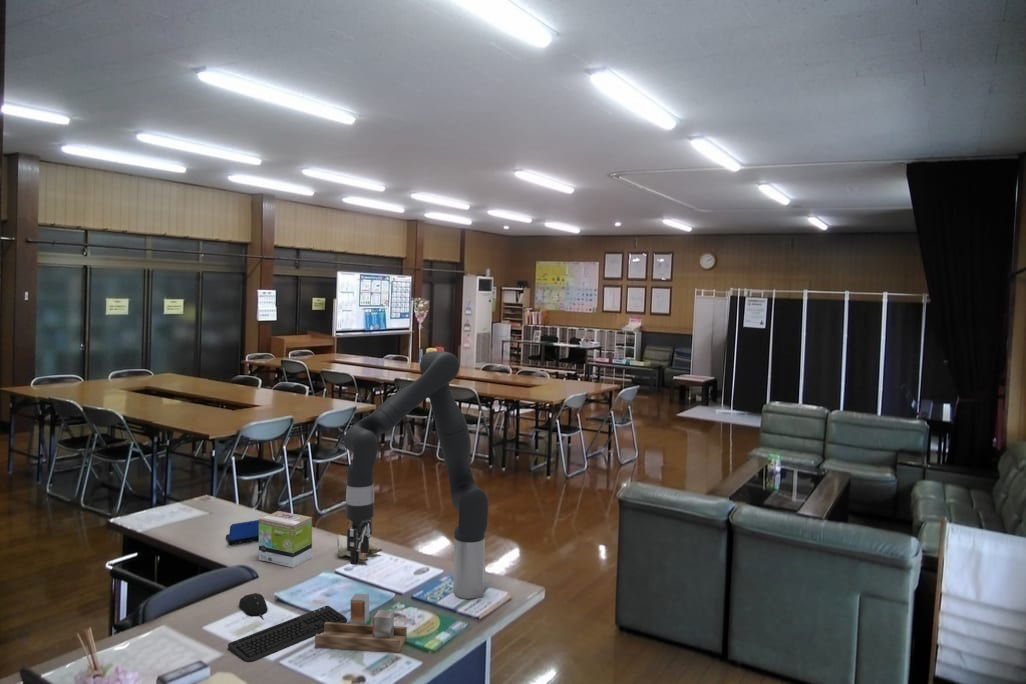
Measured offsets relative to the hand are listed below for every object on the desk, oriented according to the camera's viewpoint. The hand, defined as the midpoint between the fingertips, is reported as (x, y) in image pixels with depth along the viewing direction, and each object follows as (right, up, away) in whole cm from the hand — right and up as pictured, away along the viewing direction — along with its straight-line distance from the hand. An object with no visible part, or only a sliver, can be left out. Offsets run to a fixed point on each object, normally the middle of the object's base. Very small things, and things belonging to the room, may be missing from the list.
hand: (359, 558), depth 185 cm
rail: (+3, -19, -10) cm, 21 cm away
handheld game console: (-55, -14, +63) cm, 84 cm away
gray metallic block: (0, -18, +1) cm, 18 cm away
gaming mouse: (-32, -18, +7) cm, 37 cm away
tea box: (-35, -15, +44) cm, 59 cm away
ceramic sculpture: (-12, -15, +47) cm, 51 cm away
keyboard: (-17, -19, -7) cm, 26 cm away
